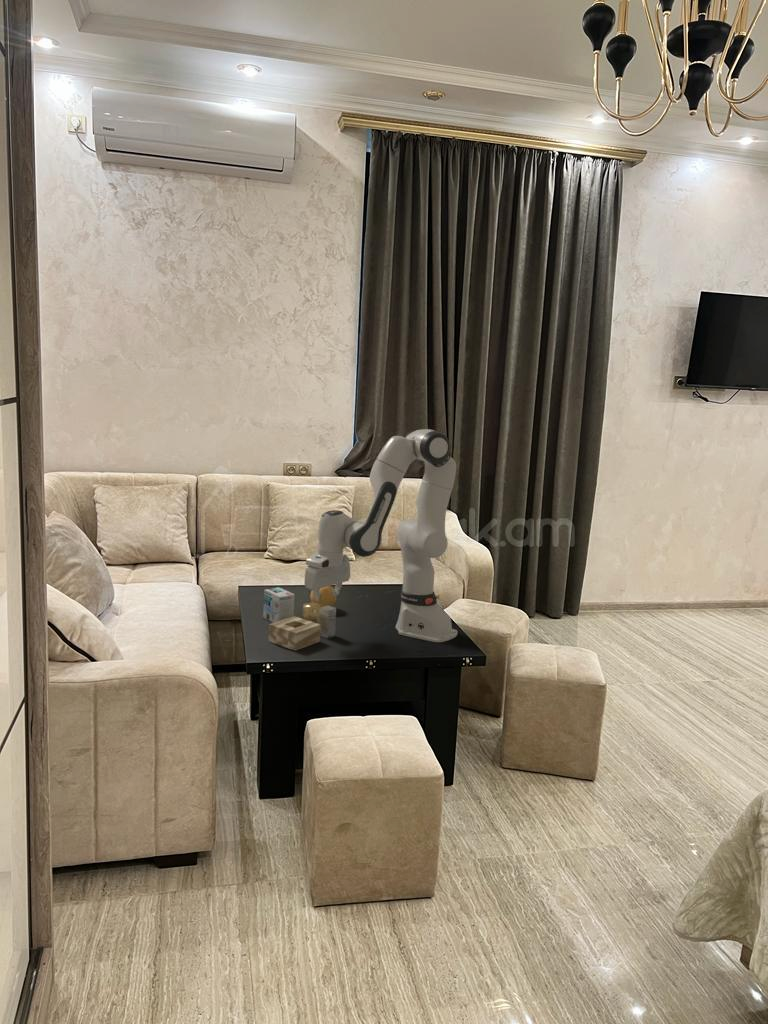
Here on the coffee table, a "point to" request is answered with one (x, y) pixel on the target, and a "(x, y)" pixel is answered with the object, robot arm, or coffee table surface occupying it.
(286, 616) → the light bulb box
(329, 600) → the stress ball
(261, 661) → the coffee table surface
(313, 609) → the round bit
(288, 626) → the socket block
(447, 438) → the robot arm
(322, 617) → the square bit
